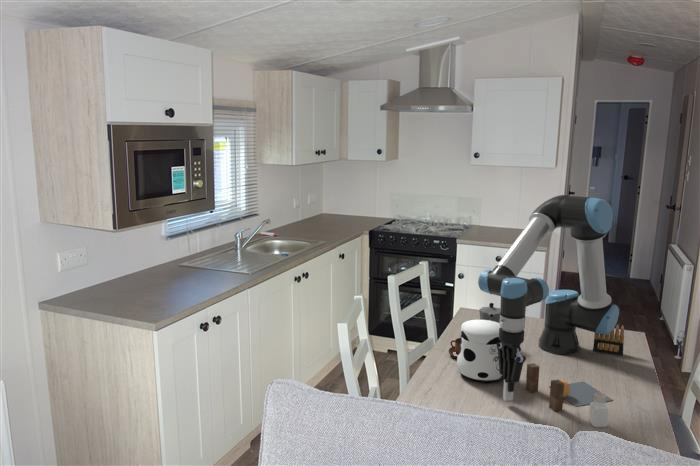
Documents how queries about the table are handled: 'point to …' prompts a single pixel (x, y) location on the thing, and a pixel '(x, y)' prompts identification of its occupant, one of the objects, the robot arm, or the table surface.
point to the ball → (566, 388)
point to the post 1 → (532, 378)
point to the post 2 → (556, 395)
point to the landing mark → (582, 394)
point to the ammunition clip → (610, 342)
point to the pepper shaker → (598, 411)
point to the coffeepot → (490, 313)
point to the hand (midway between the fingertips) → (507, 399)
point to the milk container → (479, 350)
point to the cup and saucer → (455, 347)
